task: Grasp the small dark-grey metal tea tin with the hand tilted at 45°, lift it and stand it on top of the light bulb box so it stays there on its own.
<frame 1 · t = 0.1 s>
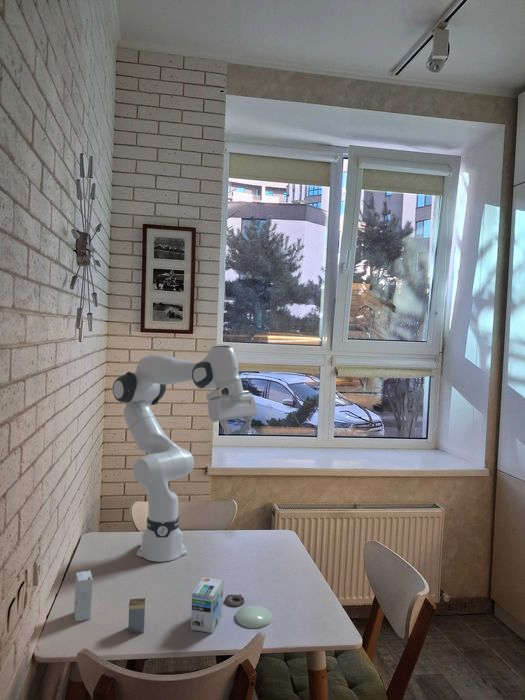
hand: (238, 432, 175), 52 cm above the table, tool tilted 20°, fingers open, 8 cm apart
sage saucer: (253, 619, 158), on the table
tea tin: (136, 629, 150), on the table
donut: (233, 604, 167), on the table
skincare box: (82, 616, 156), on the table
light bulb box: (207, 623, 155), on the table
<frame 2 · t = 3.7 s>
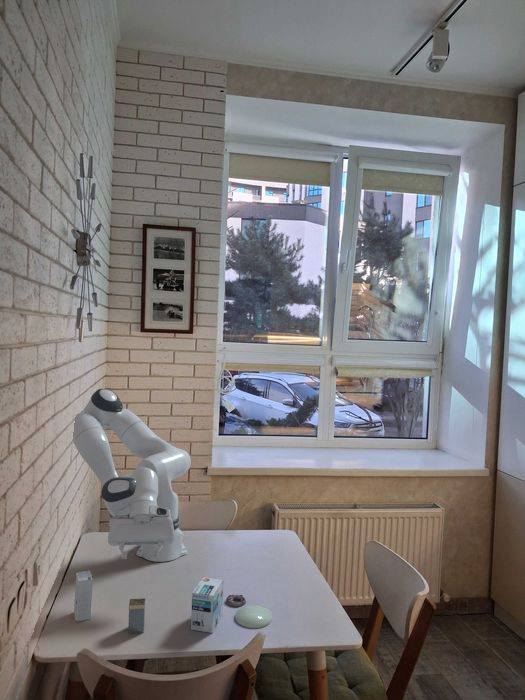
hand: (140, 557, 161), 15 cm above the table, tool tilted 45°, fingers open, 8 cm apart
nothing on the table moved.
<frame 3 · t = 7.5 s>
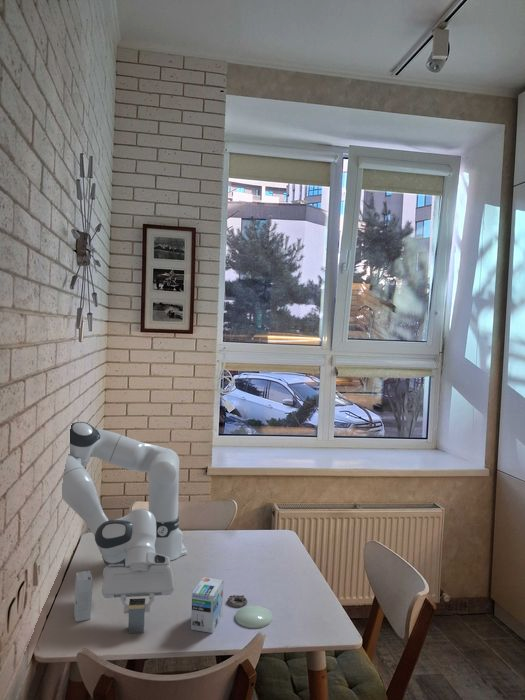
hand: (136, 612, 149), 5 cm above the table, tool tilted 45°, fingers closed on tea tin, 4 cm apart
tea tin: (136, 629, 150), on the table, touching gripper
everything else where it was.
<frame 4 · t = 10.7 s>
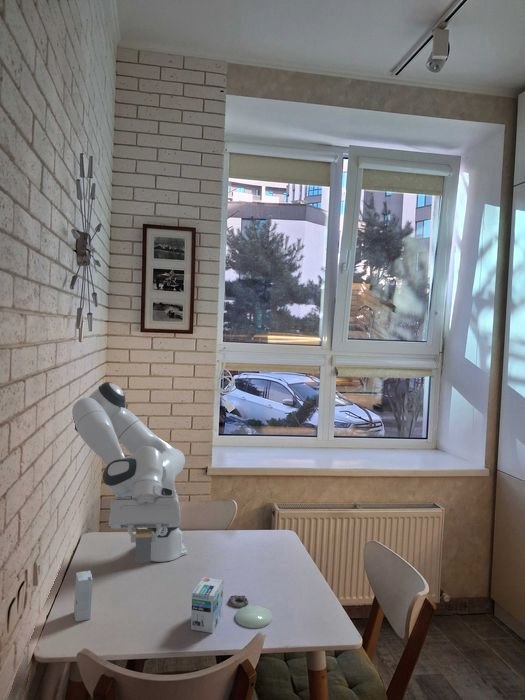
hand: (143, 541, 149), 25 cm above the table, tool tilted 45°, fingers closed on tea tin, 4 cm apart
tea tin: (143, 559, 150), point 20 cm above the table, touching gripper
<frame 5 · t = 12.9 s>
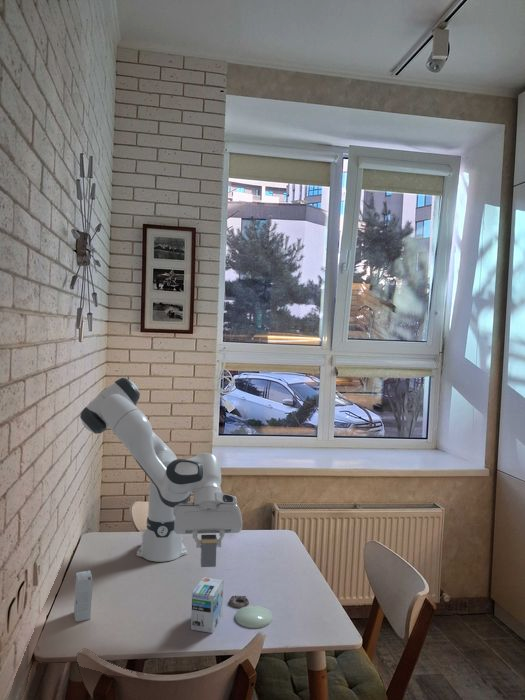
hand: (208, 546, 154), 23 cm above the table, tool tilted 45°, fingers closed on tea tin, 4 cm apart
tea tin: (208, 564, 154), point 17 cm above the table, touching gripper
when the fingers open (17 cm above the table, at t = 14.4 s): tea tin drops 1 cm, resting on light bulb box.
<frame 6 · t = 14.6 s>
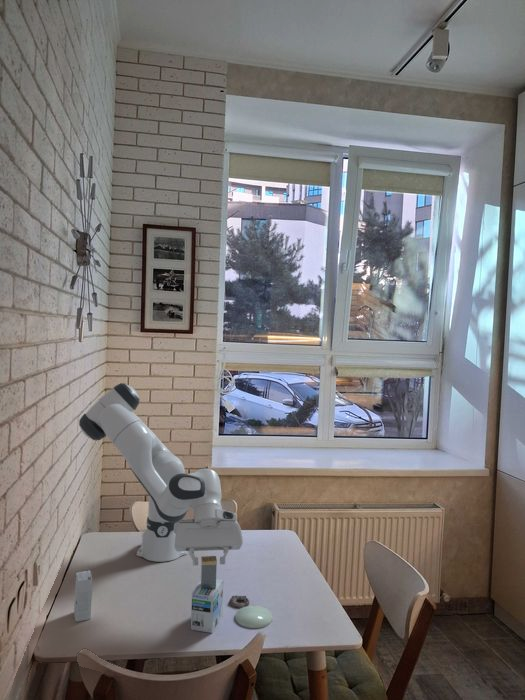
hand: (209, 564, 154), 17 cm above the table, tool tilted 45°, fingers open, 6 cm apart
tea tin: (208, 586, 155), point 11 cm above the table, touching light bulb box
light bulb box: (206, 623, 155), on the table, touching tea tin
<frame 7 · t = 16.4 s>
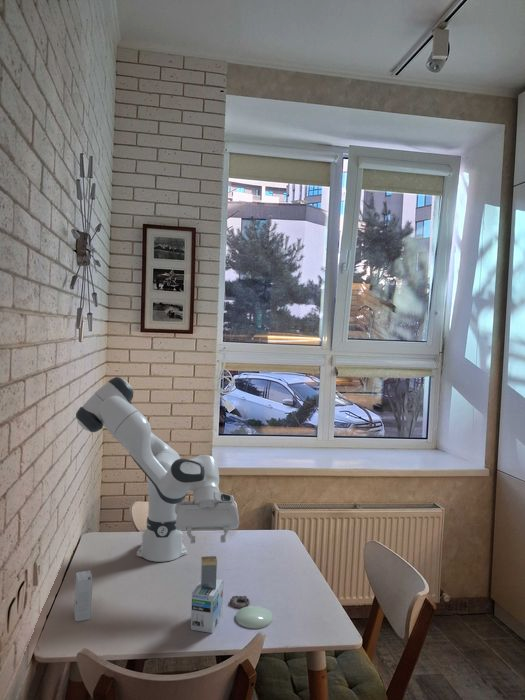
hand: (208, 542, 166), 19 cm above the table, tool tilted 45°, fingers open, 8 cm apart
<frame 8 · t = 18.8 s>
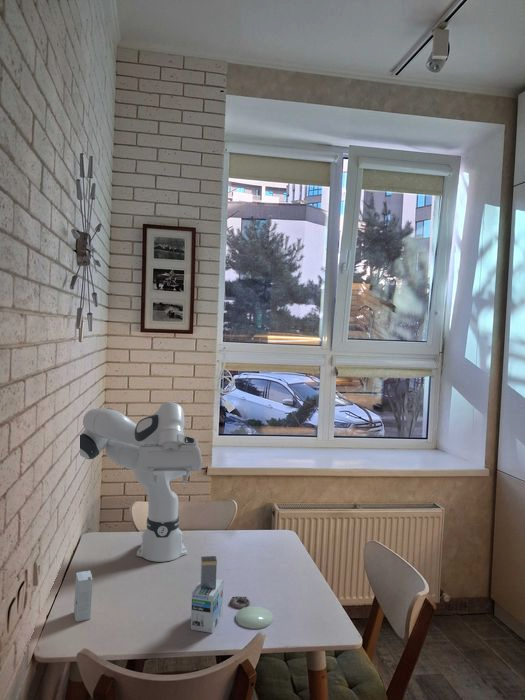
hand: (169, 481, 166), 37 cm above the table, tool tilted 45°, fingers open, 8 cm apart
at the end: tea tin inside the target area on the light bulb box (0.1 cm from its centre), point 11.0 cm above the light bulb box's base; tea tin tilted 0°; the gripper is holding nothing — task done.
